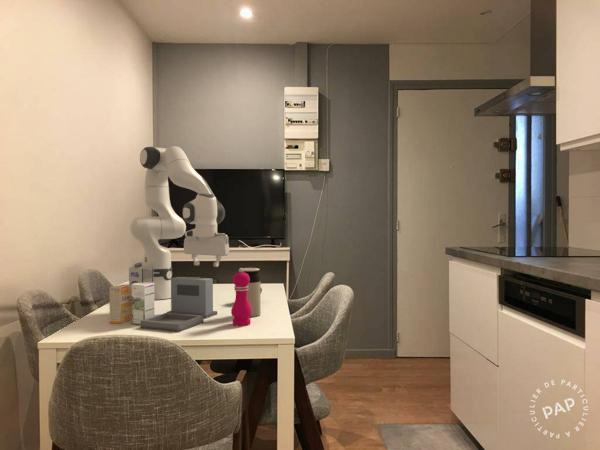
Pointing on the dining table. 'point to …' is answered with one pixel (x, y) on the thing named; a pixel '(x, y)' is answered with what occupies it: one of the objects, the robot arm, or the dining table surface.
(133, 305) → the syrup box
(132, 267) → the milk carton
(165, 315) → the parts tray
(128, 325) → the dining table surface
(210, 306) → the control unit
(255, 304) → the travel mug
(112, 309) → the supplement box
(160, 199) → the robot arm
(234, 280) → the red pepper mill
